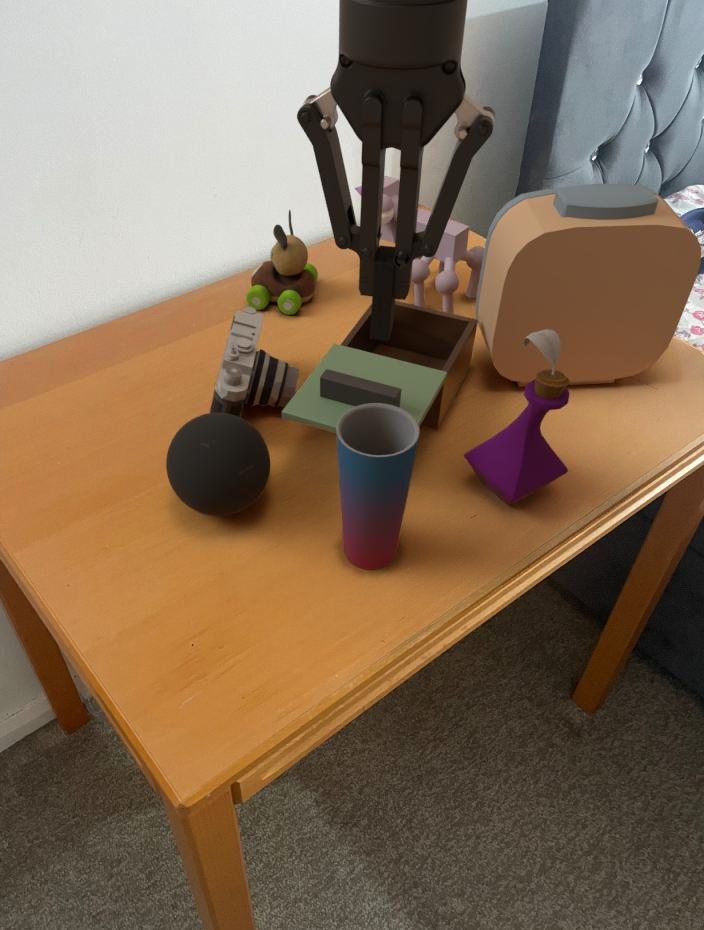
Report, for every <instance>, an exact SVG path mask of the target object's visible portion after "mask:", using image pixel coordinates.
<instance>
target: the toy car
mask: <svg viewBox="0 0 704 930" xmlns="http://www.w3.org/2000/svg"><path fill="white" fill-rule="evenodd" d="M287 215H288V228H289V232H290V233H289V234H286V232H285V230H284V229H283V227H282V226H281V224H279V223H278V224H276V225H274V227H273V230H272V234H273V237H274V238H275V240H276V242H275V244H274V246H272V247H271V250H270V253H269V254H270V255H269V256H270V257H269V258H270V260H266V261H263V262H261V263H259V264H258V265H257V266H256V267H255V268H254V270H253V272H252V274H251V280H250V282H251V283H250V285H251V287H250V288H249V290H248V291H247V293H246V296H245V299H246V303H247V305H248V306H250V307H253V308H254V309H256V311H262V310H264V309H265V308H267V306H268V305H269V304H270V302H273V303H277V307H278V309H279V310H280V312H281V313H283V314H284V315H287V316H292V315H295V314H296V313H297V312H298V311H299V310H300V308H301V306H302V303H306V302H308V301H310V299H311V298H313V296H314V294H315V287H316V286H315V283H316V282H317V280H318V277H319V275H318V274H319V272H318V269H317V268H316V267H315V266H314V265H313V264H312V263H309V262H308V260H309V252H308V248H307V245H306V244H305V243H304V241H303V240H302V239H301V238H299V237H298V236H296V235H295V234H294V229H293V225H292V211H291V209H289V210H288V214H287Z"/></svg>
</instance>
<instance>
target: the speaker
mask: <svg viewBox="0 0 704 930" xmlns="http://www.w3.org/2000/svg"><path fill="white" fill-rule="evenodd" d="M165 459H166V462H165V463H166V464H165V465H166V468H165V469H166V474H167V478H168V482H169V484H170V487H171V488H172V491H173V492H174V493H175V495H176V496H177V497H178V499H179V500H180V501H181V502H182V503H183V504H185V506H187V507H189V508H190V509H192V510H193V511H195V512H198V513H200V514H203V515H206V516H212V517H225V516H231V515H236V514H238V513H240V512H242V511H244V510H246V509H248V508H249V507H251V506H252V505H253V504H254V503H255V502H256V501H257V500H258V499H259V498H260V496H261V495H262V494H263V492H264V491H265V489H266V487H267V484H268V482H269V479H270V473H271V454H270V451H269V448H268V445H267V443H266V441H265V439H264V438H263V436H262V434H261V433H260V431H258V429H257V428H256V427H255V426H254V425H252V424H251V422H249V421H248V420H246V419H244V418H242V417H241V418H240V417H238V416H235V415H232V414H227V413H210V412H208V413H204V414H202V415H198V416H196V417H194V418H191V419H190V420H189V421H187V422H186V423H185V424H183V425H182V426H181V427H180V429H179V430H178V431H177V432H176V433H175V434H174V436H173V438H172V439H171V442H170V444H169V446H168V449H167V453H166V458H165Z"/></svg>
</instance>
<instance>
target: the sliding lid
mask: <svg viewBox="0 0 704 930" xmlns="http://www.w3.org/2000/svg"><path fill="white" fill-rule="evenodd" d="M446 378H447V372H445V371H441V370H437V369H433V368H429V367H425V366H421V365H417V364H413V363H409V362H405V361H401V360H397V359H393V358H389V357H385V356H382V355H378V354H374V353H370V352H366V351H362V350H358V349H354V348H350V347H346V346H342V345H341V344H338V343H333V344H332V346H331V347H330V348H329V349H328V351H327V352H326V353H325V355H324V356H323V357H322V358H321V360H320V361H319V362H318V363H317V365H316V366H315V367H314V369H313V370H312V372H311V373H310V374H309V375H308V376H307V378H306V379H305V381H304V382H303V383H302V384H301V386H300V387H299V388H298V390H297V391H295V393H294V396H293V398H292V399H291V400H290V402H289V403H288V404H287V405H286V407H283V409H282V410H281V418H282V419H285V420H288V421H293V422H296V423H299V424H303V425H305V426H306V425H307V426H310V427H313V428H317V429H319V430H323V431H327V432H331V433H333V434H336V426H337V422H338V420H339V419H340V417H341V416H342V415H343V414H344V413H345V412H347V411H348V410H349V409H352V408H354V407H356V406H359V405H363V404H369V403H383V404H389V405H394V406H396V407H399V408H401V409H403V410H405V411H407V412H408V413H410V414H411V415H412V416H413V417H414V418H415V419H416V421H417V423H418V425H419V428H420V426H421V425H422V424H421V423H422V421H423V420H424V418H425V416H426V414H427V412H428V411H429V409H430V407H431V405H432V403H433V402H434V400H435V398H436V396H437V395H438V393H439V391H440V389H441V387H442V386H443V384H444V382H445V380H446Z"/></svg>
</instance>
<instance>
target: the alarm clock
mask: <svg viewBox="0 0 704 930" xmlns="http://www.w3.org/2000/svg"><path fill="white" fill-rule="evenodd" d="M486 235H487V236H486V239H485V244H484V248H485V249H484V255H483V261H482V267H481V273H480V279H479V285H478V289H477V293H476V297H475V298H476V299H475V315H476V319H477V320H478V322H477V326H478V327H479V329H480V332H481V335H482V338H483V340H484V343H485V346H486V348H487V351H488V354H489V356H490V359H491V362H492V364H493V367H494V368H495V370H497V373H498V374H499V375H500V376H502V377H504V378H505V379H507V380H509V381H511V382H516V383H517V386H518V388H522V387H524V388H526V385H527V384H528V383H529V382H531V381H533V380H534V379H535V378H536V373H539V372H541V371H543V370H552V369H553V365H552V364H551V363H550V362H549V361H548V360H547V359H546V358H545V357H544V355H543V354H542V353H541V352H540V350H539V349H538V348H537V347H536V346H535V344H534V343H533V342H532V341H530V342H529V344H528V345H527V346H525V345H524V343H523V340H524V339H525V338H526V337H527V336H528V335H530V334H531V333H534V332H538V331H542V330H546V329H549V330H554V331H555V332H556V333H557V334H558V336H559V338H560V341H561V353H560V355H559V358H558V360H557V363H556V367H555V370H556V371H559V372H562V373H564V375H565V376H566V377H567V378H568V379H569V384H568V386H572V385H574V386H575V385H594V384H595V385H596V384H597V385H598V384H614V383H615V380H617V379H622V378H628V377H632V376H635V375H637V374H639V373H641V372H643V371H645V370H648V369H649V368H650V367H651V366H653V364H655V363H656V362H657V361H658V360H659V359H660V358H661V357H662V355H663V354H664V353H665V351H667V349H668V348H669V346H670V344H671V342H672V340H673V338H674V336H675V334H676V331H677V328H678V326H679V323H680V321H681V318H682V316H683V313H684V311H685V308H686V306H687V303H688V301H689V298H690V295H691V293H692V290H693V288H694V286H695V282H696V280H697V277H698V274H699V270H700V267H701V263H702V246H701V244H700V241H699V239H698V237H697V235H695V233H694V232H693V231H692V230H691V228H690V227H689V226H688V225H687V224H686V223H685V222H684V220H683V219H682V218H681V217H680V216H679V215H678V213H676V211H675V210H674V209H673V208H672V207H671V206H670V204H669V203H668V202H667V201H666V200H665V199H664V198H663V197H662V196H661V195H659V194H658V193H657V192H656V191H655V190H654V189H650V188H649V186H647V185H640V184H632V183H631V184H629V183H591V184H589V183H588V184H580V185H570V186H567V187H566V186H565V187H556V188H554V187H553V188H545V189H540V190H535V191H530V192H525V193H520V194H518V195H517V196H515V197H514V198H513V199H511V200H509V201H508V202H505V204H504V206H502V207H501V209H499V211H498V212H497V213H496V214H495V216H494V218H493V220H492V222H491V223H490V226H489V228H488V232H487V234H486Z"/></svg>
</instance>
